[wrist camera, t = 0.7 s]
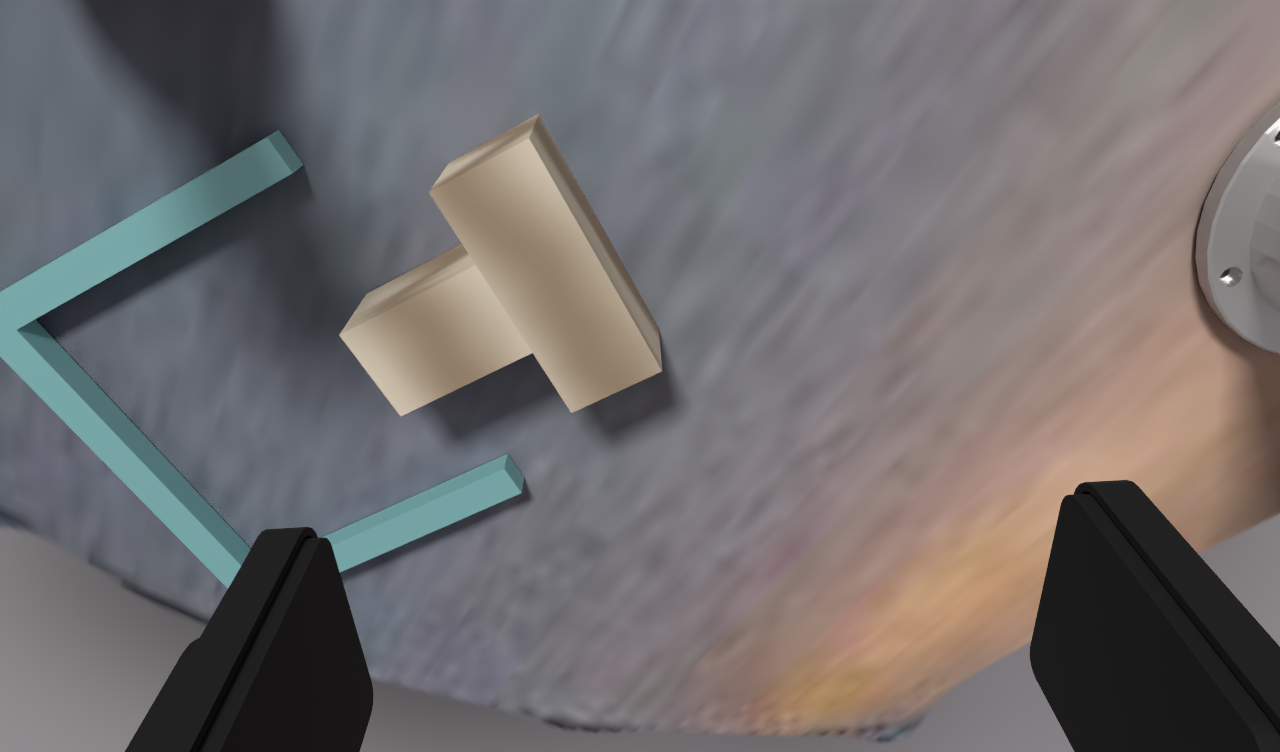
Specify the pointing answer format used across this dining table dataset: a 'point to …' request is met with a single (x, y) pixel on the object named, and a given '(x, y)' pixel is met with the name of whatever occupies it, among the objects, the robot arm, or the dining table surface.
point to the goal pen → (65, 387)
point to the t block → (509, 287)
